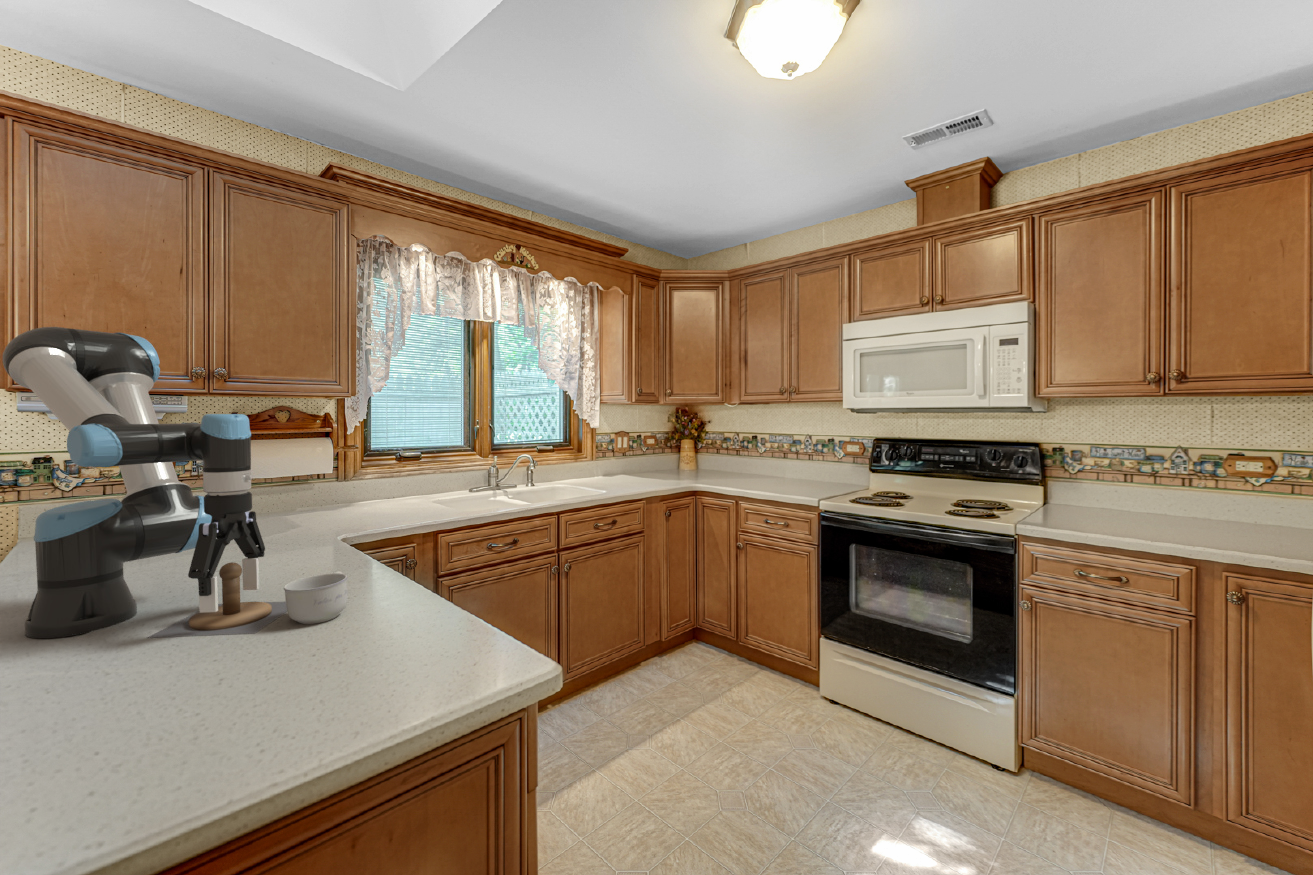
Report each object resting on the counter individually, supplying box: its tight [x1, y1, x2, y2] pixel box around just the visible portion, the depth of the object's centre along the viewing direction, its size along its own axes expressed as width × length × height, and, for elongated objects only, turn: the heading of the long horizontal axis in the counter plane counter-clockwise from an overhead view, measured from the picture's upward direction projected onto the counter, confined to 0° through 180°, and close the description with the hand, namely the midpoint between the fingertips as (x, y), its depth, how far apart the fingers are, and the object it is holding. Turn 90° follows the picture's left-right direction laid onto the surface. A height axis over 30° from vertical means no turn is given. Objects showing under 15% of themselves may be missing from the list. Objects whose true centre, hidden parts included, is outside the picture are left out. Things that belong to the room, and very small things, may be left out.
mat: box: [146, 601, 288, 639], centre depth 111 cm, size 18×18×1 cm
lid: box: [189, 561, 272, 630], centre depth 111 cm, size 13×13×11 cm
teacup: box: [283, 570, 349, 625], centre depth 113 cm, size 14×11×8 cm
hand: (231, 599), depth 111 cm, fingers open, 12 cm apart
